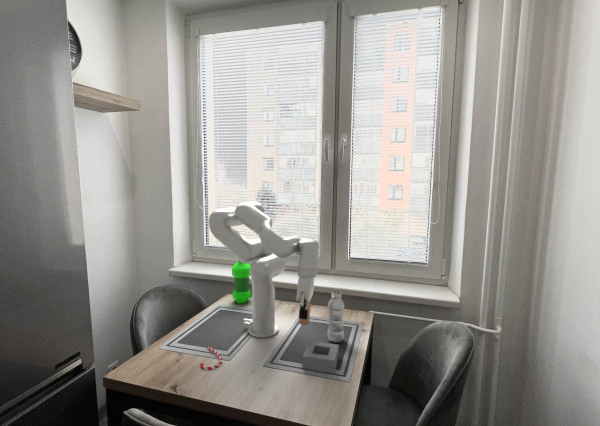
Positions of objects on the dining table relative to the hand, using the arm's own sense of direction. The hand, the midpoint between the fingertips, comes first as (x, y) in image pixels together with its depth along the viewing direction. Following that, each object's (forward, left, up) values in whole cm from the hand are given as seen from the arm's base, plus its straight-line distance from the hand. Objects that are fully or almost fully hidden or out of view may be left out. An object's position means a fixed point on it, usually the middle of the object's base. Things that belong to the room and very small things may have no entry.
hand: (304, 315), depth 128 cm
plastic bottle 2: (+12, +5, -11) cm, 17 cm away
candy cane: (-30, -20, -12) cm, 38 cm away
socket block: (+9, -12, -11) cm, 19 cm away
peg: (0, 0, -3) cm, 3 cm away
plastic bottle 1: (-42, +34, -11) cm, 55 cm away
